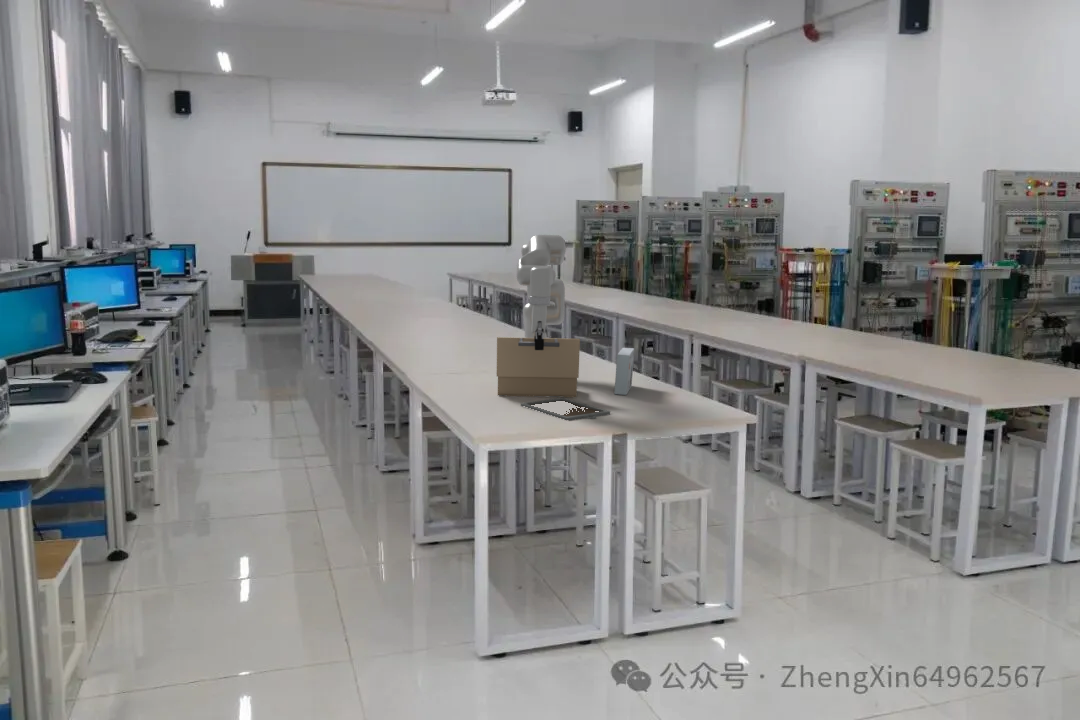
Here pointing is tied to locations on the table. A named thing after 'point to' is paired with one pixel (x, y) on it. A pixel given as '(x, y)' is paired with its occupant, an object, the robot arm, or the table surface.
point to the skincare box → (624, 371)
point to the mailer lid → (538, 358)
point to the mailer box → (537, 386)
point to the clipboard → (573, 415)
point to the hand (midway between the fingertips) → (538, 348)
